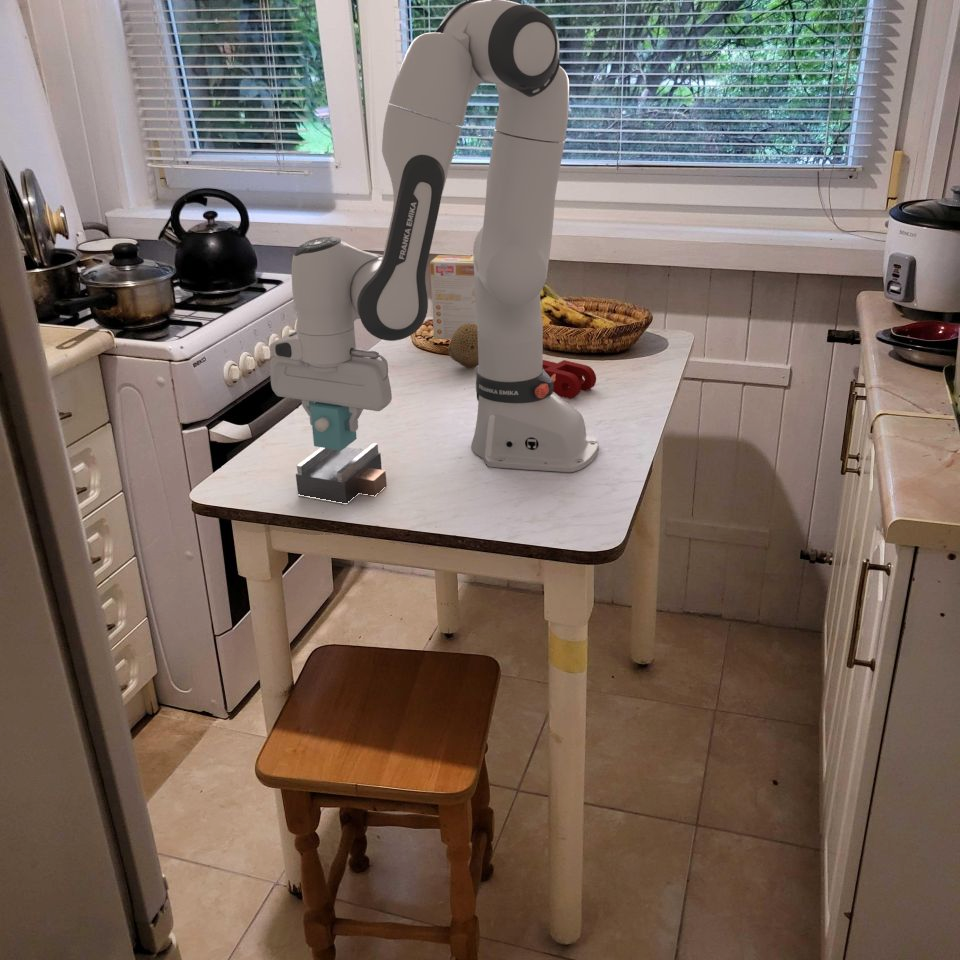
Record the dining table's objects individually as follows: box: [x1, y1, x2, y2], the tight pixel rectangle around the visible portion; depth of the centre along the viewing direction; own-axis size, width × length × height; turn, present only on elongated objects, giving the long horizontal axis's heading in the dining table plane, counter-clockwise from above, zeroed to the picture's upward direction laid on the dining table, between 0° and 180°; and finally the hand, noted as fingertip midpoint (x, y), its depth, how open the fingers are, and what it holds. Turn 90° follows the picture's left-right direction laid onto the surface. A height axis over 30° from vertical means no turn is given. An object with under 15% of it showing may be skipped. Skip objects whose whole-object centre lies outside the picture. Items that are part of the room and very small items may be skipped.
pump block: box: [310, 402, 358, 451], centre depth 156 cm, size 5×6×7 cm
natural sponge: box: [447, 323, 479, 369], centre depth 209 cm, size 9×9×10 cm
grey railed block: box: [295, 442, 388, 504], centre depth 160 cm, size 12×12×6 cm
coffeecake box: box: [429, 254, 477, 340], centre depth 223 cm, size 15×7×20 cm, turn 77°
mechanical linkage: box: [543, 359, 597, 400], centre depth 199 cm, size 16×7×5 cm, turn 50°
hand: (334, 427), depth 157 cm, fingers closed on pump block, 5 cm apart
